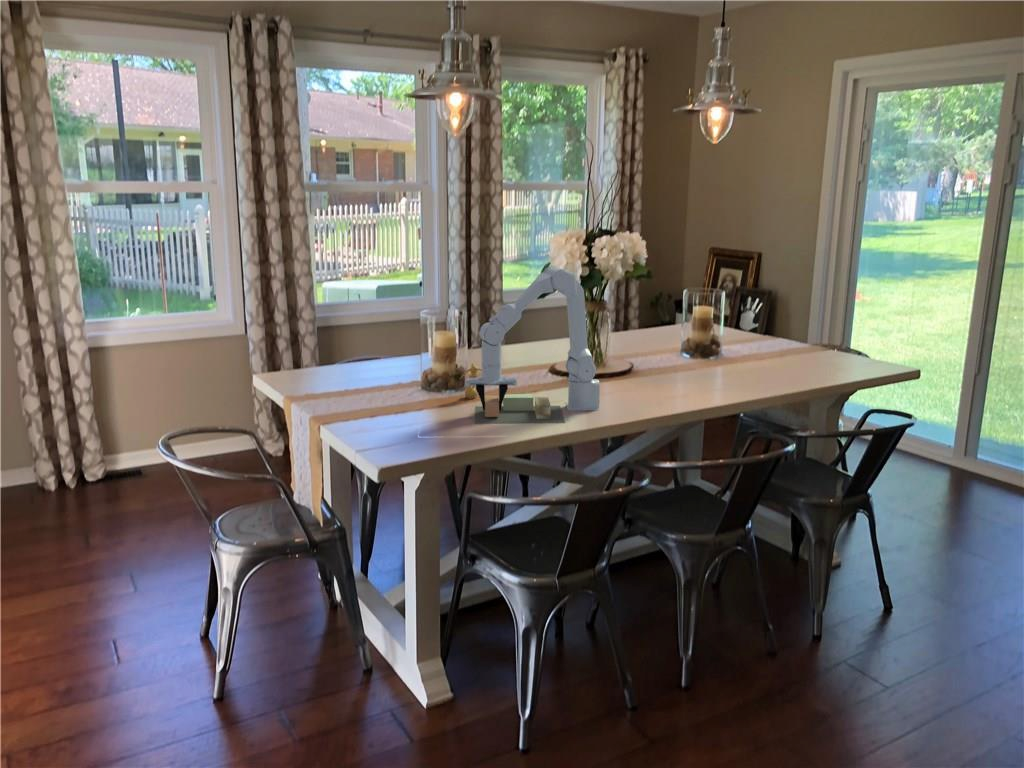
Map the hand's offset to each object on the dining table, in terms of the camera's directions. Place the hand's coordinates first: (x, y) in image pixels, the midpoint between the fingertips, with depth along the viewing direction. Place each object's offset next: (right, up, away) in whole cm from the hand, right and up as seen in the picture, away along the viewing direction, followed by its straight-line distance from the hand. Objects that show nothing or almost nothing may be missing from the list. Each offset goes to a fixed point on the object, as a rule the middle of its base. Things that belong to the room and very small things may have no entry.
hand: (491, 409), depth 246 cm
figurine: (-7, +2, +18) cm, 19 cm away
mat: (+8, -2, +1) cm, 8 cm away
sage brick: (+8, 0, +6) cm, 10 cm away
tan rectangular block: (0, -1, 0) cm, 1 cm away
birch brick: (+15, -1, +1) cm, 15 cm away
